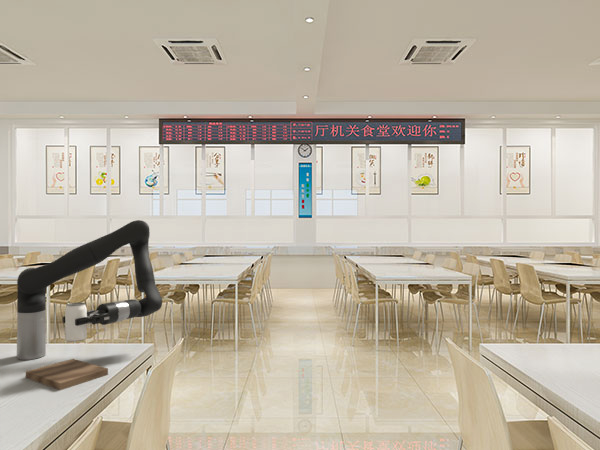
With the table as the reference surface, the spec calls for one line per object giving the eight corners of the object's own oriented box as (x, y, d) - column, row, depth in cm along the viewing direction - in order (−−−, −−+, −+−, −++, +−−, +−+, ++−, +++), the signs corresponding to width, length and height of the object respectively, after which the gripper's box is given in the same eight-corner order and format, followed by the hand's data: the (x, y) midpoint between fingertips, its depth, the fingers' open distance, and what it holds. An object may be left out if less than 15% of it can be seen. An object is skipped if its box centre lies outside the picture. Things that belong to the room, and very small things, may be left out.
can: (78, 342, 143) (77, 306, 143) (60, 341, 144) (60, 305, 144) (91, 337, 149) (90, 302, 149) (74, 336, 151) (74, 301, 151)
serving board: (25, 377, 142) (25, 371, 142) (73, 364, 155) (73, 358, 155) (60, 390, 131) (60, 383, 131) (107, 374, 145) (107, 368, 145)
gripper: (100, 300, 163) (56, 307, 148) (126, 304, 155) (82, 312, 141) (100, 320, 163) (56, 329, 148) (126, 324, 156) (82, 335, 141)
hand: (69, 321), depth 145 cm, fingers closed on can, 6 cm apart
